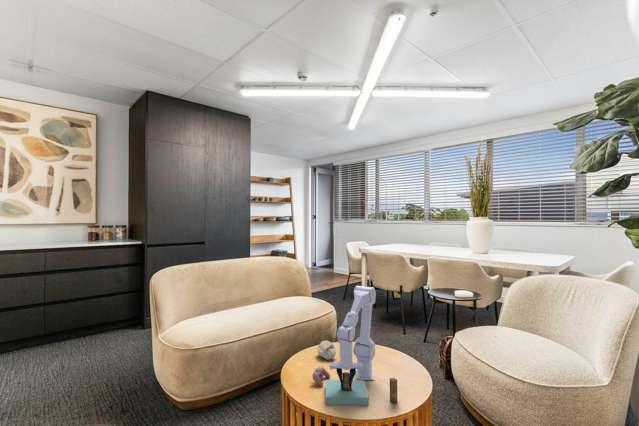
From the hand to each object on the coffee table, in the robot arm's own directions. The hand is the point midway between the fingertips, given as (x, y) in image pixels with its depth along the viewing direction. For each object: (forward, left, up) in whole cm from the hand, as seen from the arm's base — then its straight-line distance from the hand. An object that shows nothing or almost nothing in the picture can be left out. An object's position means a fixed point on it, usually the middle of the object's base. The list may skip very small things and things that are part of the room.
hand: (346, 385), depth 132 cm
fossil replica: (-38, -9, -4) cm, 39 cm away
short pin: (0, 0, -2) cm, 2 cm away
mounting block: (0, 0, -4) cm, 4 cm away
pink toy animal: (-11, -11, -4) cm, 17 cm away
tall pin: (+4, +20, -4) cm, 21 cm away
